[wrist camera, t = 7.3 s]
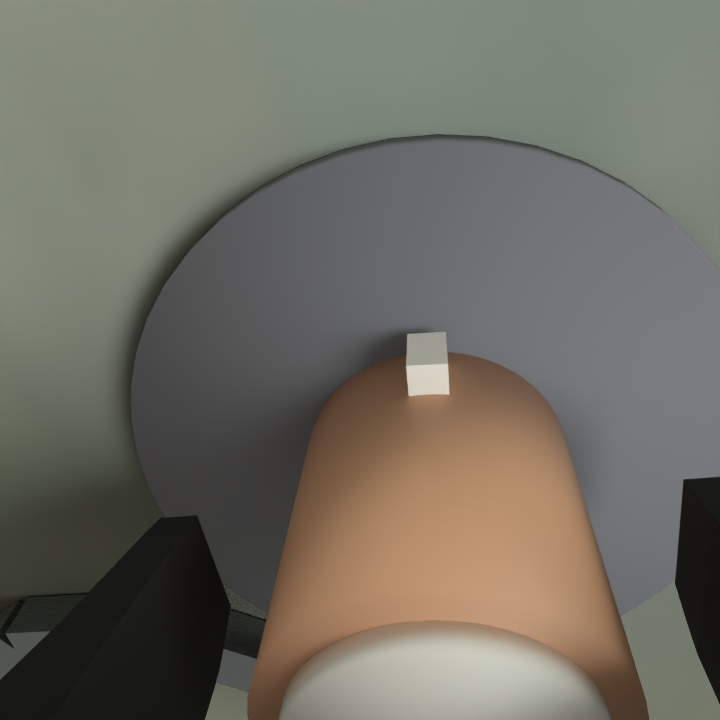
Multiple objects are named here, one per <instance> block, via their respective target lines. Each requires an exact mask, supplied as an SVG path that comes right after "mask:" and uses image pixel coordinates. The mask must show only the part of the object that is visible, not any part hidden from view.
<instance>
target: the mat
mask: <svg viewBox="0 0 720 720" xmlns="http://www.w3.org/2000/svg"><path fill="white" fill-rule="evenodd" d="M433 332H446V341H447V352H453V353H462V354H468V355H472V356H476V357H480V358H484V359H486V360H489V361H492V362H494V363H497V364H500V365H502V366H504V367H506V368H507V369H509V370H511V371H513V372H515V373H517V374H518V375H519V376H521V377H522V378H524V379H525V380H527V381H528V382H529V383H530V384H531V385H533V386H534V387H535V388H536V389H537V390H538V391H539V392H540V393H541V394H542V395H543V397H544V398H545V399H546V400H547V401H548V403H549V404H550V405H551V407H552V409H553V410H554V412H555V414H556V416H557V417H558V420H559V422H560V425H561V428H562V430H563V433H564V436H565V440H566V443H567V446H568V449H569V453H570V456H571V459H572V462H573V466H574V469H575V472H576V475H577V478H578V482H579V485H580V488H581V491H582V495H583V498H584V501H585V504H586V508H587V511H588V514H589V517H590V521H591V524H592V527H593V530H594V534H595V537H596V540H597V543H598V547H599V550H600V553H601V556H602V560H603V563H604V566H605V569H606V573H607V576H608V579H609V582H610V586H611V589H612V592H613V595H614V599H615V602H616V605H617V608H618V611H619V615H620V616H621V615H623V614H625V613H626V612H628V611H630V610H631V609H633V608H635V607H636V606H638V605H639V604H641V603H643V602H644V601H646V600H648V599H649V598H651V597H652V596H653V595H655V594H656V593H657V592H659V591H660V590H661V589H663V588H664V587H665V586H666V585H668V584H669V583H670V582H672V581H673V580H674V579H675V577H676V564H677V552H678V540H679V528H680V515H681V503H682V491H683V479H696V478H709V477H720V271H719V270H718V268H717V267H716V266H715V264H714V263H713V261H712V260H711V259H710V257H709V256H708V255H707V253H706V252H705V251H704V250H703V249H702V248H701V247H700V246H699V245H698V244H697V243H696V242H695V241H694V240H693V239H692V238H691V237H690V236H689V235H688V234H687V233H686V232H685V231H684V230H683V229H682V228H681V227H680V226H679V225H678V224H677V223H676V222H675V221H673V220H672V219H671V218H670V217H669V216H668V215H667V214H666V213H665V212H664V211H663V210H662V209H661V208H660V207H659V206H657V205H656V204H654V203H653V202H652V201H650V200H649V199H647V198H646V197H644V196H643V195H642V194H640V193H639V192H637V191H636V190H635V189H633V188H632V187H630V186H629V185H628V184H626V183H625V182H623V181H621V180H619V179H617V178H615V177H613V176H611V175H609V174H607V173H605V172H603V171H601V170H599V169H597V168H595V167H593V166H591V165H589V164H587V163H585V162H583V161H581V160H578V159H575V158H572V157H569V156H566V155H563V154H560V153H557V152H554V151H551V150H548V149H545V148H542V147H539V146H536V145H530V144H525V143H519V142H514V141H509V140H503V139H498V138H493V137H483V136H463V135H442V134H438V135H426V136H415V137H403V138H392V139H387V140H382V141H378V142H373V143H369V144H364V145H360V146H355V147H351V148H346V149H343V150H340V151H337V152H335V153H332V154H329V155H327V156H324V157H321V158H319V159H316V160H313V161H311V162H308V163H305V164H302V165H300V166H298V167H296V168H294V169H293V170H291V171H289V172H287V173H285V174H283V175H281V176H280V177H278V178H276V179H274V180H272V181H270V182H269V183H267V184H265V185H263V186H261V187H260V188H258V189H257V190H256V191H254V192H253V193H252V194H250V195H249V196H248V197H246V198H245V199H244V200H242V201H241V202H240V203H238V204H237V205H236V206H234V207H233V208H231V209H230V210H229V211H227V212H226V213H225V214H224V215H223V216H222V217H221V218H220V219H219V220H218V221H217V222H216V223H215V224H214V225H213V226H212V227H211V228H210V229H209V230H208V231H207V232H206V233H205V234H204V235H203V236H202V237H201V238H200V239H199V240H198V242H197V243H196V244H195V245H194V246H193V247H192V249H191V250H190V251H189V252H188V253H187V255H186V256H185V258H184V259H183V260H182V262H181V263H180V264H179V266H178V267H177V268H176V270H175V271H174V273H173V274H172V275H171V277H170V278H169V279H168V281H167V282H166V284H165V285H164V287H163V289H162V290H161V292H160V294H159V296H158V298H157V300H156V302H155V304H154V306H153V308H152V310H151V312H150V314H149V316H148V318H147V320H146V323H145V327H144V330H143V333H142V336H141V339H140V342H139V345H138V348H137V351H136V356H135V363H134V370H133V376H132V383H131V421H132V427H133V433H134V439H135V445H136V451H137V454H138V457H139V460H140V463H141V467H142V470H143V473H144V476H145V479H146V482H147V484H148V486H149V488H150V490H151V492H152V494H153V496H154V498H155V500H156V502H157V504H158V506H159V509H160V510H161V512H162V513H163V515H164V516H165V518H166V517H180V516H193V515H197V516H198V519H199V521H200V524H201V527H202V530H203V532H204V535H205V538H206V540H207V543H208V546H209V549H210V551H211V554H212V557H213V559H214V562H215V565H216V567H217V570H218V573H219V576H220V578H221V581H222V582H223V583H224V584H225V585H227V586H228V587H229V588H231V589H232V590H234V591H235V592H236V593H238V594H239V595H240V596H242V597H243V598H244V599H246V600H247V601H249V602H251V603H252V604H254V605H256V606H257V607H259V608H261V609H262V610H264V611H266V612H267V613H268V611H269V607H270V602H271V598H272V594H273V590H274V586H275V582H276V577H277V573H278V569H279V565H280V561H281V557H282V552H283V548H284V544H285V540H286V536H287V532H288V528H289V523H290V519H291V515H292V511H293V507H294V503H295V498H296V494H297V490H298V486H299V482H300V478H301V474H302V469H303V465H304V461H305V457H306V453H307V449H308V444H309V440H310V436H311V432H312V428H313V425H314V423H315V420H316V418H317V416H318V414H319V412H320V410H321V409H322V407H323V406H324V404H325V402H326V401H327V400H328V399H329V398H330V396H331V395H332V394H333V393H334V392H335V391H336V390H337V389H338V388H339V387H340V386H341V385H342V384H343V383H344V382H346V381H347V380H348V379H350V378H351V377H353V376H354V375H356V374H357V373H358V372H360V371H362V370H364V369H366V368H368V367H370V366H372V365H374V364H376V363H379V362H381V361H384V360H387V359H390V358H393V357H397V356H401V355H406V354H407V334H414V333H433Z"/></svg>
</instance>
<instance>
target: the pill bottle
mask: <svg viewBox="0 0 720 720" xmlns="http://www.w3.org/2000/svg"><path fill="white" fill-rule="evenodd" d="M247 714H248V719H249V720H649V715H648V709H647V703H646V699H645V696H644V693H643V689H642V686H641V683H640V680H639V676H638V673H637V670H636V667H635V663H634V660H633V657H632V654H631V650H630V647H629V644H628V641H627V637H626V634H625V631H624V628H623V624H622V621H621V618H620V615H619V611H618V608H617V605H616V602H615V599H614V595H613V592H612V589H611V586H610V582H609V579H608V576H607V573H606V569H605V566H604V563H603V560H602V556H601V553H600V550H599V547H598V543H597V540H596V537H595V534H594V530H593V527H592V524H591V521H590V517H589V514H588V511H587V508H586V504H585V501H584V498H583V495H582V491H581V488H580V485H579V482H578V478H577V475H576V472H575V469H574V466H573V462H572V459H571V456H570V453H569V449H568V446H567V443H566V440H565V436H564V433H563V430H562V428H561V425H560V422H559V420H558V417H557V416H556V414H555V412H554V410H553V409H552V407H551V405H550V404H549V403H548V401H547V400H546V399H545V398H544V397H543V395H542V394H541V393H540V392H539V391H538V390H537V389H536V388H535V387H534V386H533V385H531V384H530V383H529V382H528V381H527V380H525V379H524V378H522V377H521V376H519V375H518V374H517V373H515V372H513V371H511V370H509V369H507V368H506V367H504V366H502V365H500V364H497V363H494V362H492V361H489V360H486V359H484V358H480V357H476V356H472V355H468V354H462V353H453V352H447V341H446V332H433V333H414V334H407V354H406V355H401V356H397V357H393V358H390V359H387V360H384V361H381V362H379V363H376V364H374V365H372V366H370V367H368V368H366V369H364V370H362V371H360V372H358V373H357V374H356V375H354V376H353V377H351V378H350V379H348V380H347V381H346V382H344V383H343V384H342V385H341V386H340V387H339V388H338V389H337V390H336V391H335V392H334V393H333V394H332V395H331V396H330V398H329V399H328V400H327V401H326V402H325V404H324V406H323V407H322V409H321V410H320V412H319V414H318V416H317V418H316V420H315V423H314V425H313V428H312V432H311V436H310V440H309V444H308V449H307V453H306V457H305V461H304V465H303V469H302V474H301V478H300V482H299V486H298V490H297V494H296V498H295V503H294V507H293V511H292V515H291V519H290V523H289V528H288V532H287V536H286V540H285V544H284V548H283V552H282V557H281V561H280V565H279V569H278V573H277V577H276V582H275V586H274V590H273V594H272V598H271V602H270V607H269V611H268V615H267V619H266V623H265V627H264V631H263V636H262V640H261V644H260V648H259V652H258V656H257V661H256V665H255V669H254V673H253V677H252V681H251V686H250V690H249V694H248V709H247Z"/></svg>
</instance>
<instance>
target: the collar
mask: <svg viewBox="0 0 720 720" xmlns="http://www.w3.org/2000/svg"><path fill="white" fill-rule="evenodd" d="M86 595H87V594H80V595H62V596H45V597H28V598H27V600H26V601H25V603H24V604H23V603H22V602H21V601H19V600H18V601H17V602H15V603H14V604H12V605H11V606H9V607H8V608H6V609H5V610H3V611H2V612H0V679H1V678H2V677H4V676H5V675H6V674H7V673H8V672H9V671H10V670H11V669H12V668H13V667H14V666H15V665H16V664H17V663H18V662H19V661H20V660H21V659H22V658H23V657H24V656H25V655H26V654H27V653H29V652H30V651H31V650H32V649H33V648H34V647H35V646H36V645H37V644H38V643H39V642H40V641H41V640H42V639H43V638H44V637H45V636H46V635H47V634H48V633H49V632H50V631H51V630H53V629H54V628H55V627H56V626H57V625H58V624H59V623H60V622H61V621H62V620H63V618H64V617H65V616H66V615H67V614H68V613H69V612H70V611H71V610H72V609H73V608H74V607H75V606H76V605H77V604H78V603H79V602H80V601H81V600H82V599H83V598H84V597H85V596H86ZM265 623H266V621H264V620H261V619H258V618H255V617H252V616H248V615H245V614H242V613H239V612H236V611H233V610H230V614H229V620H228V626H227V632H226V638H225V644H224V649H223V654H222V660H221V665H220V670H219V674H218V677H217V681H216V682H217V683H220V684H224V685H227V686H230V687H234V688H237V689H240V690H244V691H247V692H249V690H250V686H251V681H252V677H253V673H254V669H255V665H256V661H257V656H258V652H259V648H260V644H261V640H262V636H263V631H264V627H265Z"/></svg>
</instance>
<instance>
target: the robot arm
mask: <svg viewBox="0 0 720 720" xmlns="http://www.w3.org/2000/svg"><path fill="white" fill-rule="evenodd" d="M675 585H676V588H677V591H678V594H679V598H680V601H681V604H682V608H683V611H684V614H685V617H686V621H687V624H688V627H689V630H690V633H691V636H692V639H693V642H694V645H695V648H696V651H697V654H698V656H699V658H700V661H701V663H702V665H703V668H704V670H705V672H706V674H707V677H708V679H709V681H710V683H711V686H712V688H713V690H714V692H715V695H716V697H717V699H718V701H719V703H720V477H709V478H696V479H683V491H682V503H681V515H680V528H679V540H678V552H677V564H676V577H675ZM230 608H231V605H230V603H229V600H228V597H227V595H226V592H225V589H224V586H223V584H222V581H221V578H220V576H219V573H218V570H217V567H216V565H215V562H214V559H213V557H212V554H211V551H210V549H209V546H208V543H207V540H206V538H205V535H204V532H203V530H202V527H201V524H200V521H199V519H198V516H197V515H193V516H180V517H166V518H160V519H159V520H158V521H157V522H156V523H155V524H154V525H153V526H152V527H151V528H150V529H149V530H148V531H147V532H146V533H145V534H144V535H143V536H142V537H141V538H140V539H139V540H138V541H137V542H136V543H135V544H134V545H133V546H132V548H131V549H130V550H129V551H128V552H127V553H126V554H125V555H124V556H123V557H122V558H121V559H120V560H119V561H118V562H117V563H116V564H115V565H114V567H113V568H112V569H111V570H110V571H109V572H108V573H107V574H106V575H105V576H104V577H103V578H102V579H101V580H100V581H99V582H98V583H97V584H96V585H95V586H94V587H93V589H92V590H91V591H90V592H89V593H88V594H87V595H86V596H85V597H84V598H83V599H82V600H81V601H80V602H79V603H78V604H77V605H76V606H75V607H74V608H73V609H72V610H71V611H70V612H69V613H68V614H67V615H66V616H65V617H64V618H63V620H62V621H61V622H60V623H59V624H58V625H57V626H56V627H55V628H54V629H53V630H51V631H50V632H49V633H48V634H47V635H46V636H45V637H44V638H43V639H42V640H41V641H40V642H39V643H38V644H37V645H36V646H35V647H34V648H33V649H32V650H31V651H30V652H29V653H27V654H26V655H25V656H24V657H23V658H22V659H21V660H20V661H19V662H18V663H17V664H16V665H15V666H14V667H13V668H12V669H11V670H10V671H9V672H8V673H7V674H6V675H5V676H4V677H2V678H1V679H0V720H205V717H206V714H207V711H208V707H209V704H210V701H211V697H212V694H213V691H214V687H215V684H216V681H217V677H218V674H219V670H220V665H221V660H222V654H223V649H224V644H225V638H226V632H227V626H228V620H229V614H230Z"/></svg>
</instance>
